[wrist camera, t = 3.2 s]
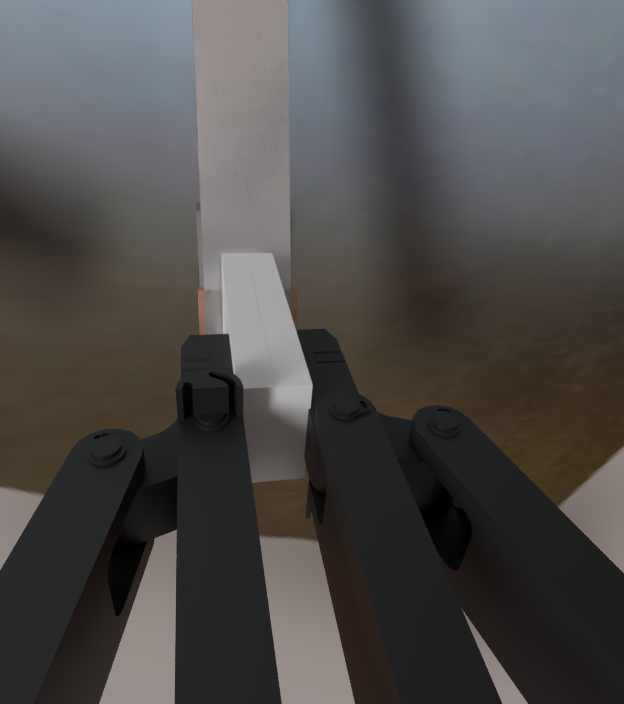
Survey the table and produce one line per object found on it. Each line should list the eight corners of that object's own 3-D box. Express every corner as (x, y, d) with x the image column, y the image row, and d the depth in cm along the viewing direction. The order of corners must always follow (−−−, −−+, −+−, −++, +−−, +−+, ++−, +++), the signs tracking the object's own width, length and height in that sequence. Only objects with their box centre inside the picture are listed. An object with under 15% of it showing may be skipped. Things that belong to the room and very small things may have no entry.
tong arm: (281, -530, 15) (290, -612, 14) (291, 419, 20) (298, 433, 19) (160, -561, 14) (156, -651, 13) (204, 425, 20) (204, 440, 18)
